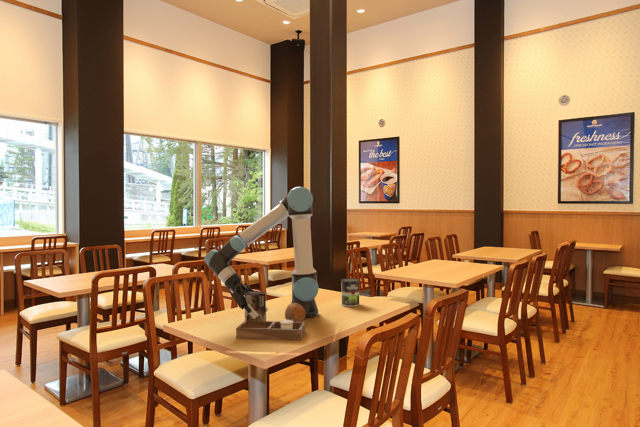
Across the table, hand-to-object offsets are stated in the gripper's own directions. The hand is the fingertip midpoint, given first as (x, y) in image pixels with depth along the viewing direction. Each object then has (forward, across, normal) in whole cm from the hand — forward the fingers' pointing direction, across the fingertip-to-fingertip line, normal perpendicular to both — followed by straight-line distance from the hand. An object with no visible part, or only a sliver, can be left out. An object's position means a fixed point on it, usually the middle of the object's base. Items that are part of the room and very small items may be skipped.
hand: (261, 314), depth 186 cm
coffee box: (+3, 0, -7) cm, 7 cm away
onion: (+13, -11, +4) cm, 18 cm away
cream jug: (+15, +9, +7) cm, 19 cm away
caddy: (+11, +10, +2) cm, 15 cm away
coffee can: (+25, -56, +16) cm, 64 cm away
